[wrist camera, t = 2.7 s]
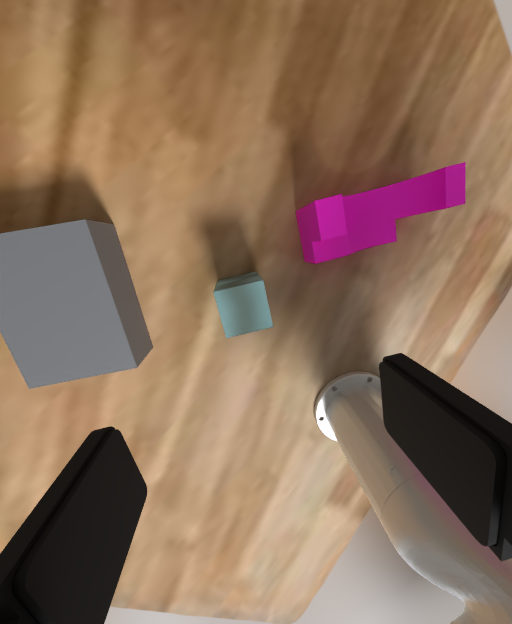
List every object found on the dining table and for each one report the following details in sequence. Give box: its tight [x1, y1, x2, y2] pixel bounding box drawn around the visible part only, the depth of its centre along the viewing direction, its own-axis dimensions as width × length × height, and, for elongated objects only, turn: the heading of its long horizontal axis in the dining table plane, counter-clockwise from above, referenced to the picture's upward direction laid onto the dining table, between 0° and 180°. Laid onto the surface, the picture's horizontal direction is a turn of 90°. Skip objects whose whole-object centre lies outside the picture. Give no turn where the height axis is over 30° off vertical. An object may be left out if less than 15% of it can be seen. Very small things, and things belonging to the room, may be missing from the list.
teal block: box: [214, 272, 273, 338], centre depth 28 cm, size 5×5×8 cm
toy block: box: [296, 162, 465, 264], centre depth 27 cm, size 15×6×8 cm, turn 104°
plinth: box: [0, 219, 153, 389], centre depth 27 cm, size 12×16×6 cm
